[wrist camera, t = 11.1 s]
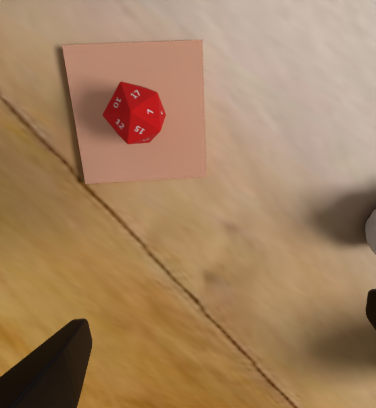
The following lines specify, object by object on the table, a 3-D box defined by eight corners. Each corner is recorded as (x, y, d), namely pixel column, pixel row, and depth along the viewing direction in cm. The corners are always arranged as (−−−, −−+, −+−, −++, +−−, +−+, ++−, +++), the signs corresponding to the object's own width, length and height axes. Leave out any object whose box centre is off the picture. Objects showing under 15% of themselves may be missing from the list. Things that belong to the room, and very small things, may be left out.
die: (173, 133, 17) (173, 132, 13) (128, 151, 17) (115, 155, 14) (153, 81, 16) (146, 63, 12) (106, 100, 16) (85, 89, 13)
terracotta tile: (88, 182, 18) (85, 183, 18) (65, 48, 16) (61, 45, 15) (205, 175, 19) (206, 176, 18) (201, 43, 16) (202, 39, 16)
